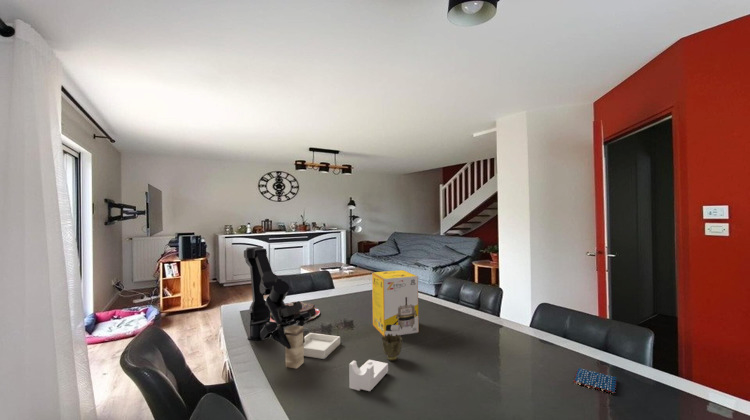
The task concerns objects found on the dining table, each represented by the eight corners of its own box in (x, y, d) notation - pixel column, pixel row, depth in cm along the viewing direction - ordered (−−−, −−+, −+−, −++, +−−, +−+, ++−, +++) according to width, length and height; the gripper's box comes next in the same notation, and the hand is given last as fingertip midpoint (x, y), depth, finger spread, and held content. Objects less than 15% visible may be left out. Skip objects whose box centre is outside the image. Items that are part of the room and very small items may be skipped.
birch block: (285, 366, 111) (284, 329, 111) (292, 360, 115) (292, 325, 115) (296, 368, 109) (296, 330, 109) (303, 362, 114) (303, 326, 114)
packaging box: (404, 320, 156) (403, 270, 157) (418, 332, 141) (417, 276, 141) (372, 324, 151) (372, 272, 152) (384, 337, 136) (383, 279, 136)
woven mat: (576, 372, 105) (576, 366, 105) (617, 382, 99) (617, 376, 99) (572, 386, 97) (572, 379, 97) (615, 398, 91) (615, 391, 91)
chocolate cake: (279, 307, 183) (279, 296, 183) (326, 309, 179) (326, 297, 179) (254, 324, 155) (254, 311, 155) (309, 326, 151) (309, 313, 151)
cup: (404, 356, 118) (404, 334, 118) (399, 365, 111) (399, 342, 111) (385, 353, 120) (385, 332, 120) (379, 362, 113) (379, 339, 113)
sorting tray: (291, 354, 121) (291, 346, 121) (310, 339, 134) (309, 332, 134) (324, 358, 116) (324, 350, 116) (340, 343, 130) (340, 336, 130)
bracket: (370, 394, 94) (369, 368, 94) (349, 388, 97) (349, 364, 97) (388, 374, 105) (387, 351, 105) (369, 369, 109) (368, 347, 109)
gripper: (264, 301, 108) (284, 341, 101) (307, 290, 122) (327, 325, 115) (251, 320, 112) (270, 359, 106) (294, 307, 127) (313, 341, 120)
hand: (297, 345), depth 112 cm, fingers closed on birch block, 6 cm apart
